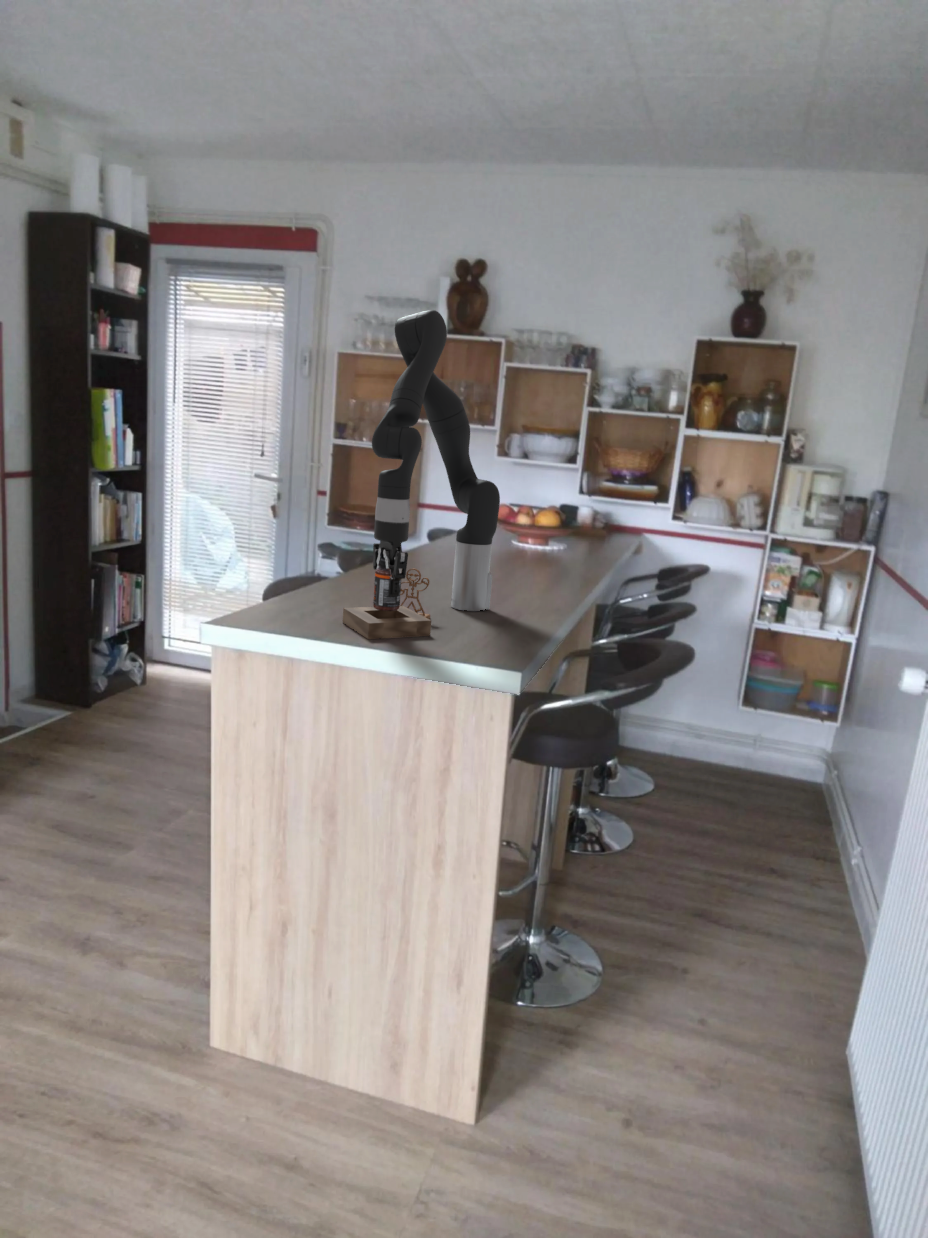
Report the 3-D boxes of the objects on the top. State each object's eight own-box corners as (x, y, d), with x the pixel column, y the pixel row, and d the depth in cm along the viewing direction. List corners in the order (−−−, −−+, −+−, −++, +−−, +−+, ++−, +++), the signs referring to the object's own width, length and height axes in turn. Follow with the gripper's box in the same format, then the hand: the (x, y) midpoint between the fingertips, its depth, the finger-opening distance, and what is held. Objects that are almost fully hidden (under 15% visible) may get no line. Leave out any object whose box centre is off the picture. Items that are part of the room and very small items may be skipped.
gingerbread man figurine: (390, 616, 208) (393, 567, 205) (396, 613, 212) (399, 565, 209) (425, 621, 206) (428, 571, 203) (430, 618, 209) (434, 569, 207)
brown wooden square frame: (401, 620, 205) (402, 605, 204) (430, 635, 192) (431, 620, 191) (342, 622, 197) (343, 607, 197) (367, 639, 185) (368, 623, 184)
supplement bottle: (373, 605, 196) (376, 556, 194) (399, 606, 197) (402, 557, 194) (372, 610, 191) (375, 560, 188) (399, 612, 191) (402, 562, 189)
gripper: (421, 523, 185) (416, 599, 189) (394, 514, 197) (389, 586, 201) (389, 522, 181) (385, 600, 185) (363, 514, 194) (359, 587, 197)
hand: (387, 593), depth 193 cm, fingers closed on supplement bottle, 6 cm apart
